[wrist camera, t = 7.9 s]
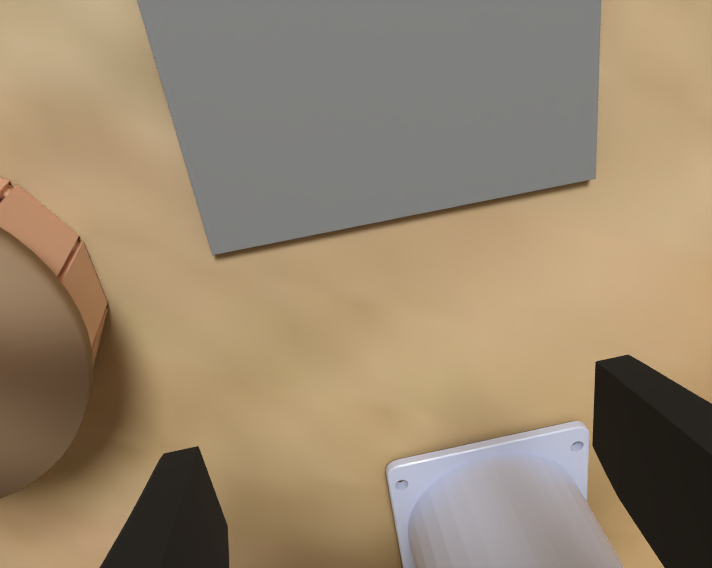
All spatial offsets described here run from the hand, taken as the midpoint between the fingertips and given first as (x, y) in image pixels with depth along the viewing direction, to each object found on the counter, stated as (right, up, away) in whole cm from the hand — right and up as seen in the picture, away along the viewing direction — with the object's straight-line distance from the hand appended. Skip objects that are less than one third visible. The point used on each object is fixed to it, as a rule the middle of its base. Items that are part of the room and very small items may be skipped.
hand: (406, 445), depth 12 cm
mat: (0, +10, +6) cm, 12 cm away
